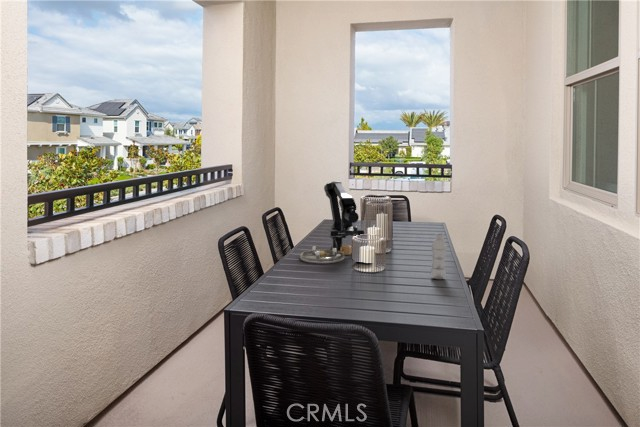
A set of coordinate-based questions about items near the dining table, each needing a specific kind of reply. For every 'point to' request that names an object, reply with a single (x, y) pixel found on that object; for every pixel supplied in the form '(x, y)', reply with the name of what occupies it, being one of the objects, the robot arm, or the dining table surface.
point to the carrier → (322, 256)
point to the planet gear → (346, 249)
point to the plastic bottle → (438, 257)
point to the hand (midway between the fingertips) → (346, 248)
